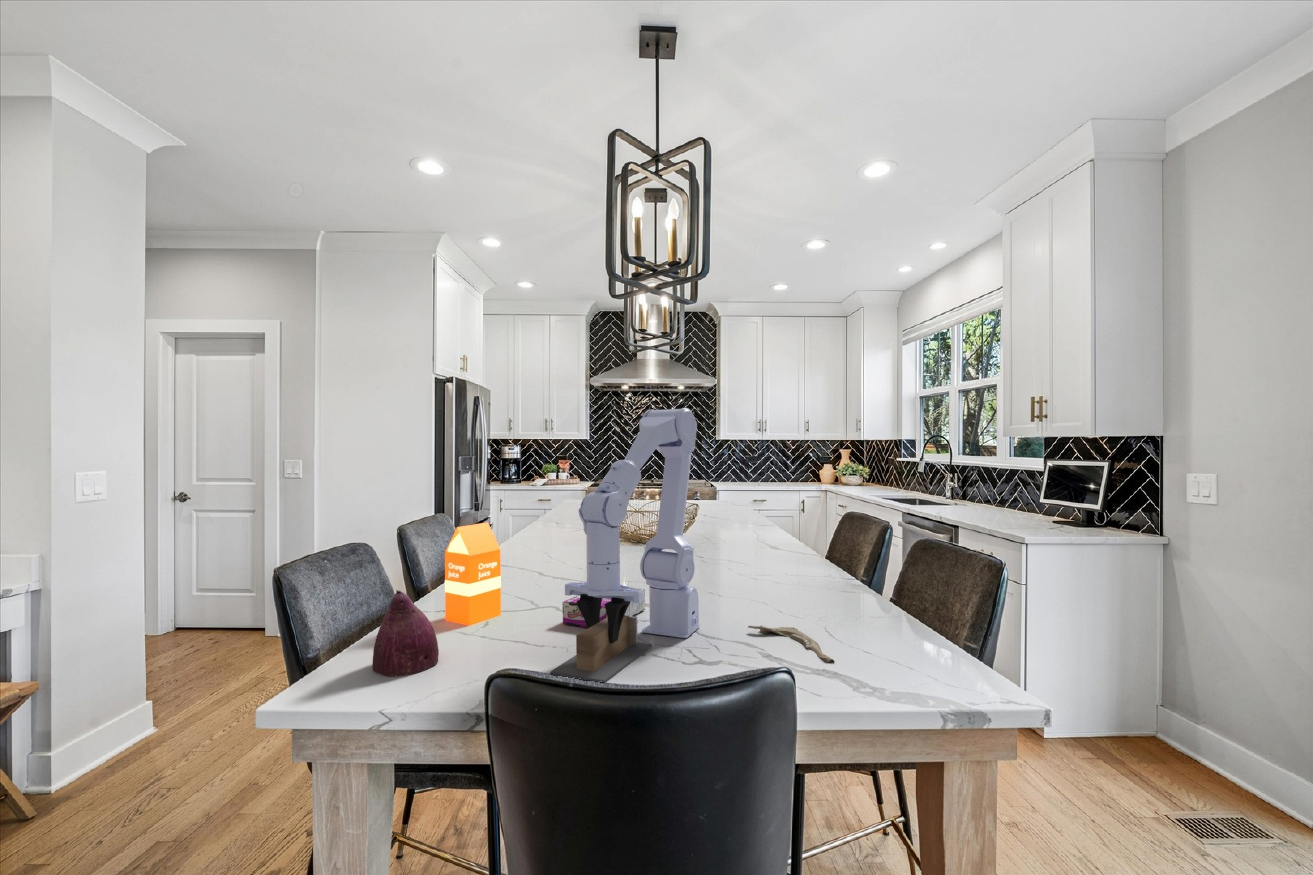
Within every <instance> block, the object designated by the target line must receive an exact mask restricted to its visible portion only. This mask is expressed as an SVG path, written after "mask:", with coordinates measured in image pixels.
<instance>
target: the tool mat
mask: <svg viewBox="0 0 1313 875" xmlns="http://www.w3.org/2000/svg"><path fill="white" fill-rule="evenodd" d="M652 647H653V644H651V643H646V642H645V643H644V642H640V641H639V642H638V641H637V645H629V647H627V648H626V649H625V650H623V651H622V652H620V653H619V654H618V655H616V656H615V657H613V658H612V659H611V660H609V661H608V662H606V663H605V664H604V665H602V666H601V667H599V668H598V669H597V670H595V671H594V672H592V671H586V670H581V669H577V661H576V655H573V656H572V657H571V658H569V659H568V660H566V661H564V662H563V663H561V664H559V665H558V666H556V667H554V668H553V669H551V670H550V673H552V674H551V675H557V676H561V677H566V676H569V677H568V678H572V677H575V678H574V679H578V678H581V679H580V680H583V679H585V681H589V680H591V681H590V682H595V681H602V682H606V683H607V682H608V681H610V680H611V679H612V678H614V676H616V675H617V674H619V673H620V672H621V671H622V670H624V669H625V668H626V667H627V666H629V665H630V664H631V663H632V662H634V661H636V659H638V658H639V657H640V656H642V654H645V652H647V651H648V650H650V648H652ZM550 673H549V674H550Z"/></svg>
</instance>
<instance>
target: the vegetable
mask: <svg viewBox="0 0 1313 875" xmlns="http://www.w3.org/2000/svg"><path fill="white" fill-rule="evenodd" d="M383 616H384V617H383V619H382V622H381V623H380V626H379V629H378V632H377V634H376V637H375V640H374V645H373V653H372V654H373V655H372V665H371V666H372V667H371V668H372V671H373V672H374V673H376V674H377V675H378V674H379V675H382V676H383V677H390V678H391V677H402V676H403V677H404V676H408V675H414V674H419V673H421V672H424V671H426V670H429V669H430V668H434V667H435V666H436V665H437V664H438V662H439V655H440V653H439V652H440V650H439V643H438V639H437V634H436V631H435V628H434V626H433V625H432V623H431V621H430V620H429V619H428V617H427V616H426V614H425V613H424V612H423V611H422V610H421V609H419V607H417V606H416V605H415V603H414V601H412V599H411V598H410V597H409V595H408V594H406V593H405V592H402V591H401V590H399V589H396V593H394V595H393V596H392V599H391V602H390V605H389V607H388V608H387V610H386V612H385V615H383Z"/></svg>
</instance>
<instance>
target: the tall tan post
mask: <svg viewBox="0 0 1313 875" xmlns="http://www.w3.org/2000/svg"><path fill="white" fill-rule="evenodd" d="M575 638H576V640H575V642H576V644H575V645H576V646H575V648H576V650H575V651H576V661H577V669H581V670H586V671H592V672H594V671H595V670H597V669H598V668H599V667H601V666H602V665H604V664H605V663H606V662H608V661H609V660H611V659H612V658H613V657H615V656H616V655H618V654H619V653H620V652H622V651H623V650H625V649H626V648H627V647H629V645H637V642H638V617H637V616H625V615H624V617H623V620H622V623H621V627H620V631H619V636H618V640H617V641H616V642H614V643H609V637H608V619H607V618H606V619H604V620H602V621H600V622H599V623H597V624H595V625H593V626H592V627H590V628H588V629H585V630H583V631H582V632H580V633H578V634H576V636H575Z"/></svg>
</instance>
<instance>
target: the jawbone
mask: <svg viewBox="0 0 1313 875" xmlns="http://www.w3.org/2000/svg"><path fill="white" fill-rule="evenodd" d="M747 628H749V629H756V630H757V629H758V630H759V631H760V632H761V633H770V632H772V633H774V634H776V635H780V636H781V637H787V638H790V639H792V640H794V641H796V642H799V643H800V644H802V645H804V647H805V648H806V649H808V650H810V651H812V652H813V653H815V655H816V656H817V657H819V658H821V659H822V660H824V661H825V662H827V663H830V664H832V663H833V664H834V663H835V662H836V661H835V660H834V659H833V658H831V657H830V656H828V655H826V654H824V653H823V652H822V649H821V647H820V646H821V645H820V644H819V643H818V642H817V641H816V640H814V638H811V637H810V636H808V635H807V634H805V633H804V632H802V631H800V630H798V628H795V627H789V626H780V627H779V626H778V627H768V626H763V625H758V626H757V625H748V626H747Z"/></svg>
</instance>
